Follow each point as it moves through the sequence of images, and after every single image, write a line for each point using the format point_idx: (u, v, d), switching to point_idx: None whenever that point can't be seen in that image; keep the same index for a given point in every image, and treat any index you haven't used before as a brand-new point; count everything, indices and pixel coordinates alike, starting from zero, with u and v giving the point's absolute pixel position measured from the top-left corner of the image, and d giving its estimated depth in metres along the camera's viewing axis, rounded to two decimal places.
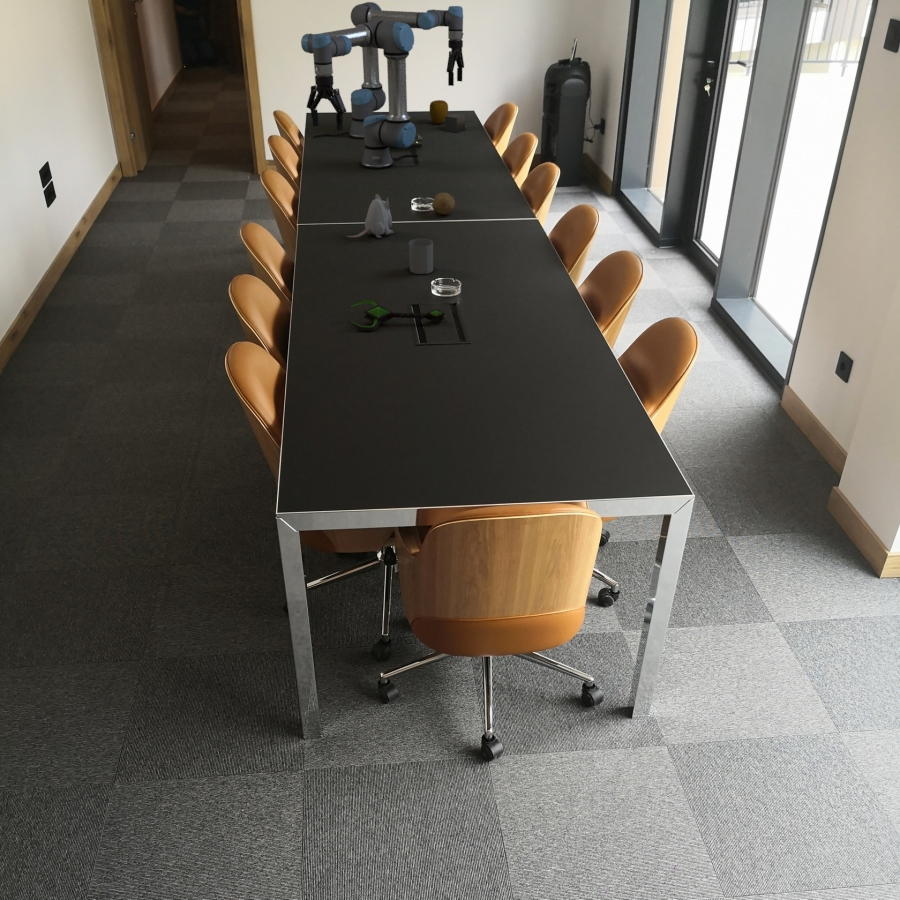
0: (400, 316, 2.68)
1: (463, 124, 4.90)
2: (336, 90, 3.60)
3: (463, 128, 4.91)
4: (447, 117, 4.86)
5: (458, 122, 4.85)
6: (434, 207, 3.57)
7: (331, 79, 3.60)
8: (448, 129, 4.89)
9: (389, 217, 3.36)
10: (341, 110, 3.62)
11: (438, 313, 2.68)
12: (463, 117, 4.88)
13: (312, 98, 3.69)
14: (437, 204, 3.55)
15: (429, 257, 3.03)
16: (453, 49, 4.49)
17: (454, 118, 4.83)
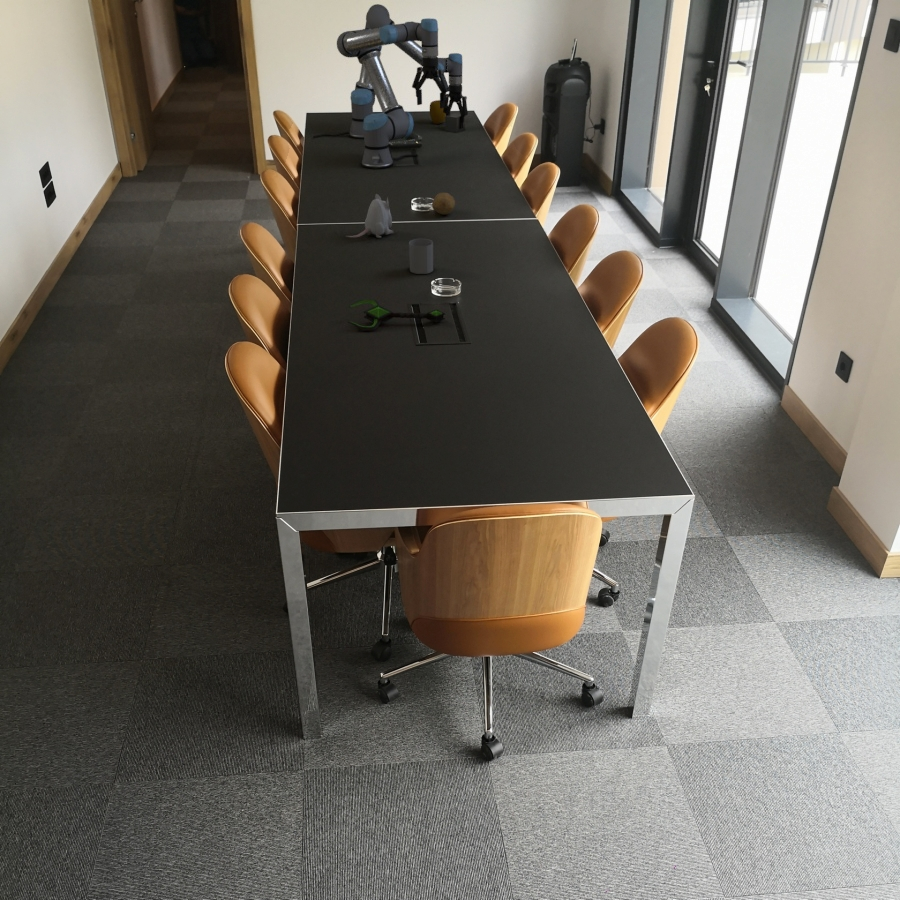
0: (400, 316, 2.68)
1: (463, 124, 4.90)
2: (441, 70, 3.92)
3: (463, 128, 4.91)
4: (447, 117, 4.86)
5: (458, 122, 4.85)
6: (434, 207, 3.57)
7: (436, 60, 3.92)
8: (448, 129, 4.89)
9: (389, 217, 3.36)
10: (445, 89, 3.94)
11: (438, 313, 2.68)
12: None
13: (417, 78, 4.02)
14: (437, 204, 3.55)
15: (429, 257, 3.03)
16: None
17: (454, 118, 4.83)
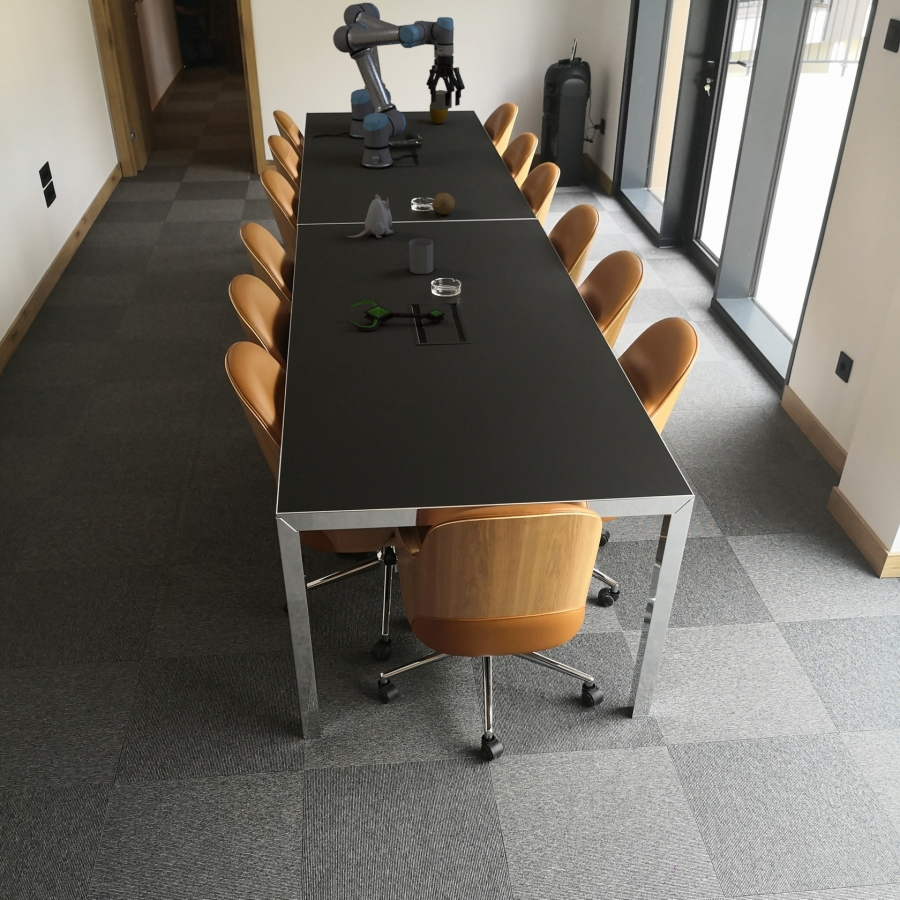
0: (400, 316, 2.68)
1: (450, 101, 4.60)
2: (457, 68, 3.98)
3: (450, 106, 4.61)
4: None
5: (444, 99, 4.55)
6: (434, 207, 3.57)
7: (452, 58, 3.98)
8: (434, 107, 4.59)
9: (389, 217, 3.36)
10: (460, 87, 4.00)
11: (438, 313, 2.68)
12: None
13: (432, 76, 4.07)
14: (437, 204, 3.55)
15: (429, 257, 3.03)
16: None
17: (440, 95, 4.53)
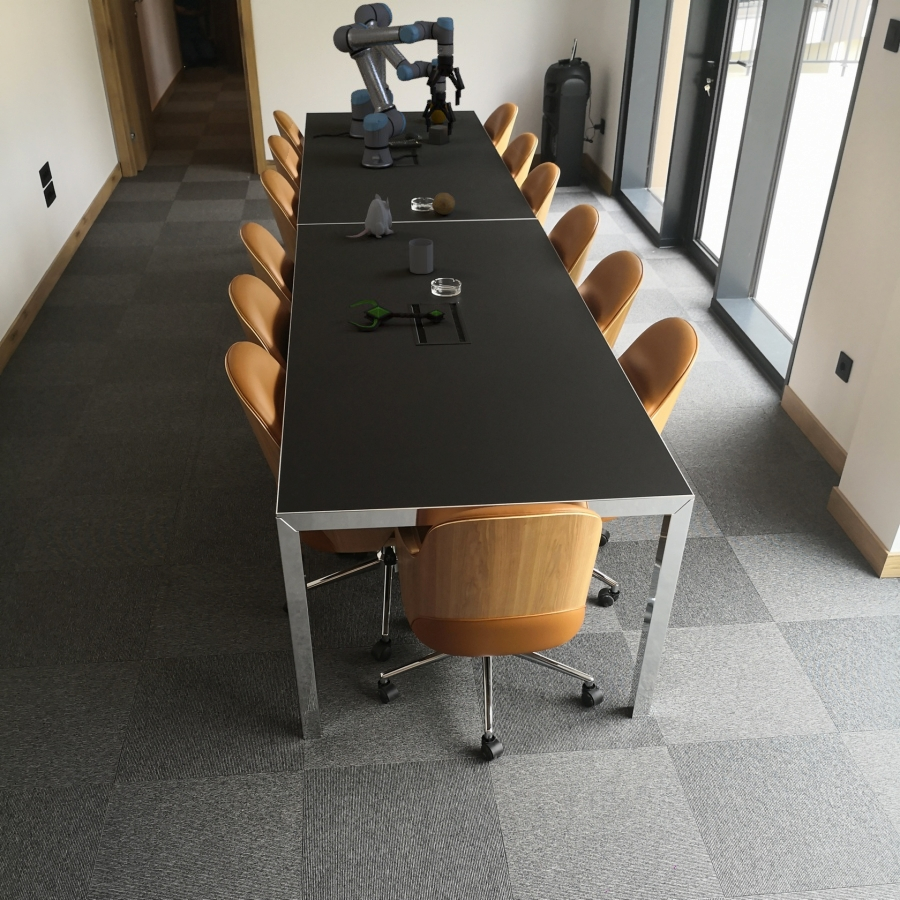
0: (400, 316, 2.68)
1: (447, 136, 4.65)
2: (457, 68, 3.98)
3: (447, 140, 4.67)
4: (430, 129, 4.61)
5: (442, 134, 4.61)
6: (434, 207, 3.57)
7: (452, 58, 3.98)
8: (431, 141, 4.64)
9: (389, 217, 3.36)
10: (460, 87, 4.00)
11: (438, 313, 2.68)
12: (447, 129, 4.63)
13: (432, 76, 4.07)
14: (437, 204, 3.55)
15: (429, 257, 3.03)
16: None
17: (437, 130, 4.59)
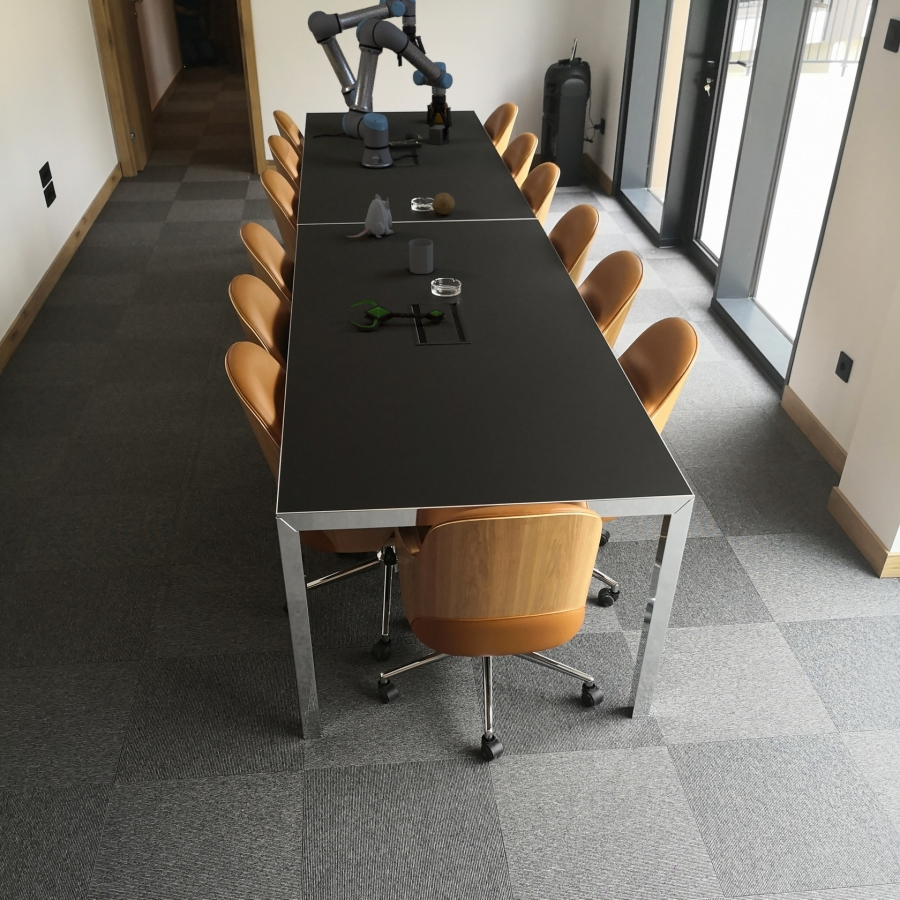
0: (400, 316, 2.68)
1: None
2: (449, 109, 4.54)
3: (447, 140, 4.67)
4: (430, 129, 4.61)
5: (442, 134, 4.61)
6: (434, 207, 3.57)
7: (445, 98, 4.53)
8: (431, 141, 4.64)
9: (389, 217, 3.36)
10: (448, 125, 4.57)
11: (438, 313, 2.68)
12: None
13: (429, 115, 4.62)
14: (437, 204, 3.55)
15: (429, 257, 3.03)
16: None
17: (438, 130, 4.59)
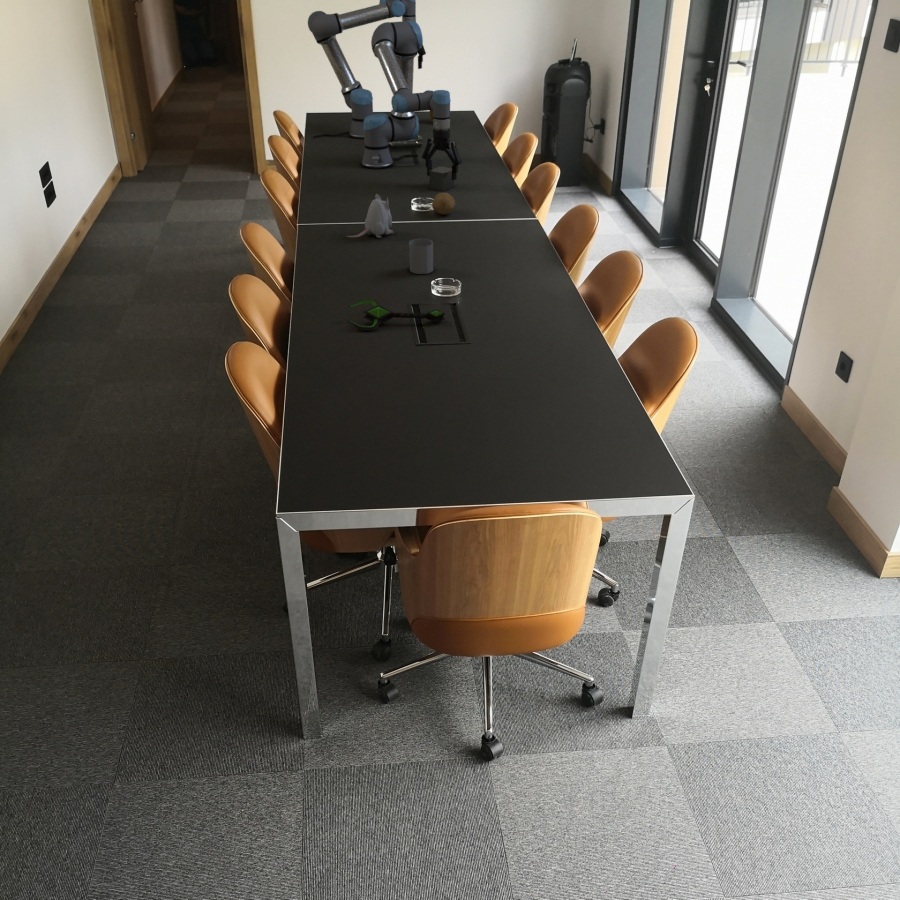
0: (400, 316, 2.68)
1: (452, 180, 3.93)
2: (453, 143, 3.80)
3: (452, 185, 3.95)
4: (432, 172, 3.89)
5: (445, 178, 3.89)
6: (434, 207, 3.57)
7: (449, 132, 3.80)
8: (433, 187, 3.92)
9: (389, 217, 3.36)
10: (457, 162, 3.83)
11: (438, 313, 2.68)
12: None
13: (428, 149, 3.89)
14: (437, 204, 3.55)
15: (429, 257, 3.03)
16: None
17: (440, 174, 3.87)
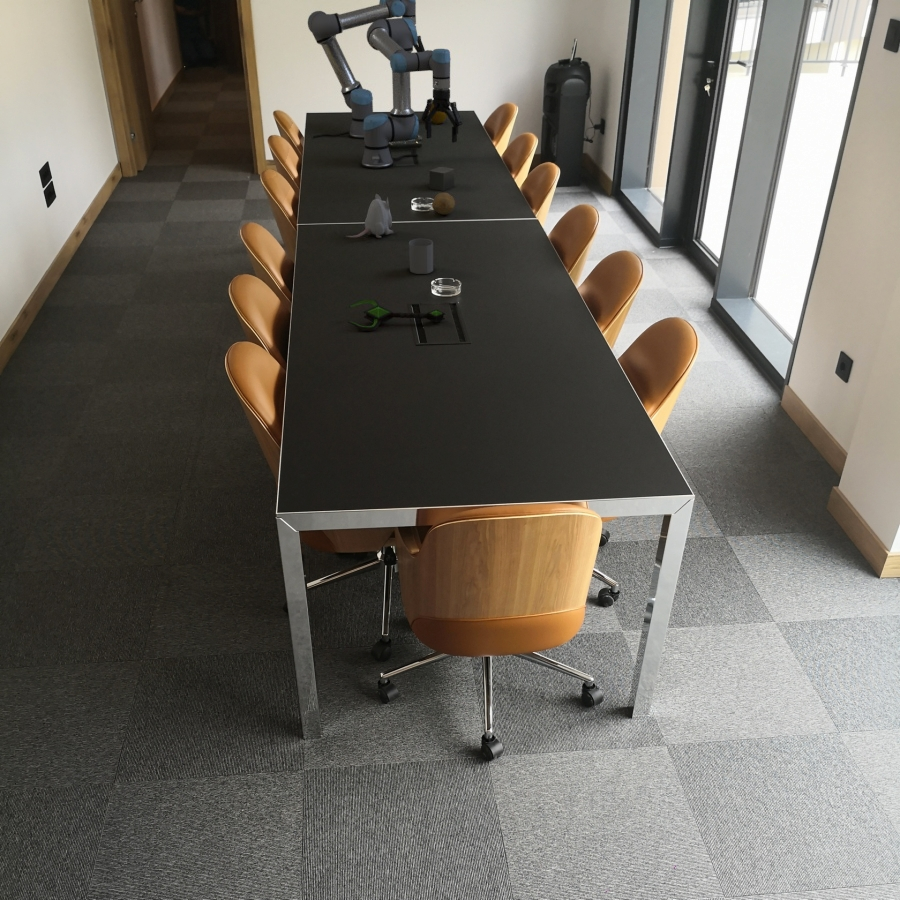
0: (400, 316, 2.68)
1: (452, 180, 3.93)
2: (453, 103, 3.72)
3: (452, 185, 3.95)
4: (432, 172, 3.89)
5: (445, 178, 3.89)
6: (434, 207, 3.57)
7: (449, 93, 3.71)
8: (433, 187, 3.92)
9: (389, 217, 3.36)
10: (458, 123, 3.74)
11: (438, 313, 2.68)
12: (452, 172, 3.91)
13: (427, 111, 3.81)
14: (437, 204, 3.55)
15: (429, 257, 3.03)
16: None
17: (440, 174, 3.87)
